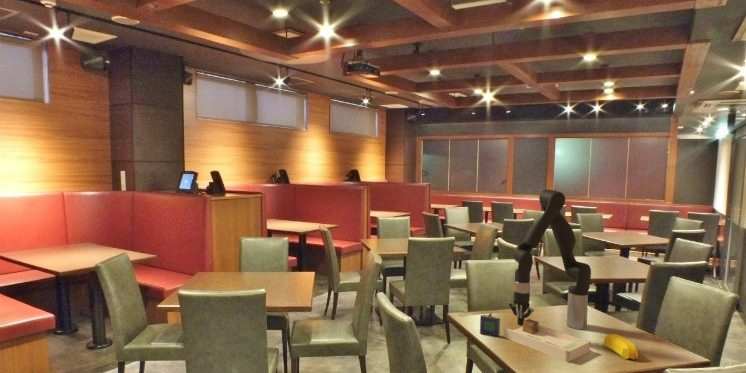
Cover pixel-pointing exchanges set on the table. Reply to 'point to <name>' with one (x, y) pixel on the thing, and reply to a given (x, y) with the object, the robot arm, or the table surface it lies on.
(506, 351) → the table surface
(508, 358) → the table surface
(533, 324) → the walnut block
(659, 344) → the table surface
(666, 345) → the table surface
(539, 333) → the track
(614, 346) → the yellow banana
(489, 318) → the flask
